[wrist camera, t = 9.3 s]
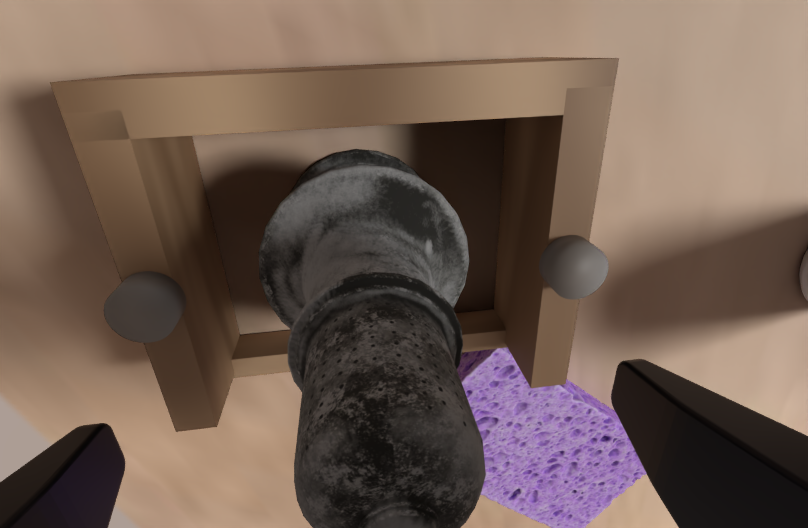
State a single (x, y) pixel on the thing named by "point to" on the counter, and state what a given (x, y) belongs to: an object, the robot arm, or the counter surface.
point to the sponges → (546, 443)
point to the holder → (331, 108)
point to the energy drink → (804, 275)
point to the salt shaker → (374, 345)
